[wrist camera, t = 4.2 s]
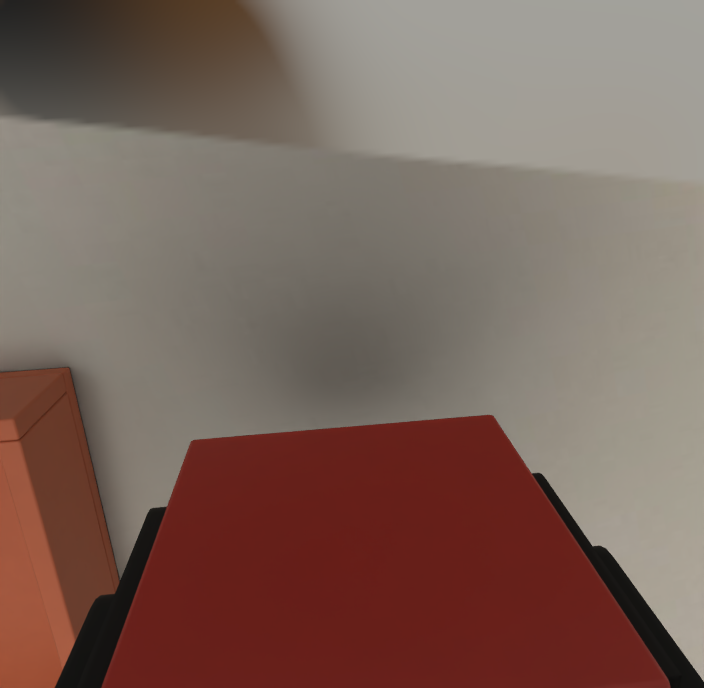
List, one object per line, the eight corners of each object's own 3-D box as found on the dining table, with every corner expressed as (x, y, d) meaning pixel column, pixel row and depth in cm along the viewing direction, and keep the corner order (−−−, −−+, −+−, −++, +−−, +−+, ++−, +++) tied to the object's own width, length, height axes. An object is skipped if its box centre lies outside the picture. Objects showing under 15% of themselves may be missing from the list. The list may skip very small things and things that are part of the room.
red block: (190, 438, 9) (72, 753, 5) (493, 412, 10) (676, 684, 5) (229, 665, 11) (175, 1058, 6) (484, 637, 11) (612, 997, 7)
